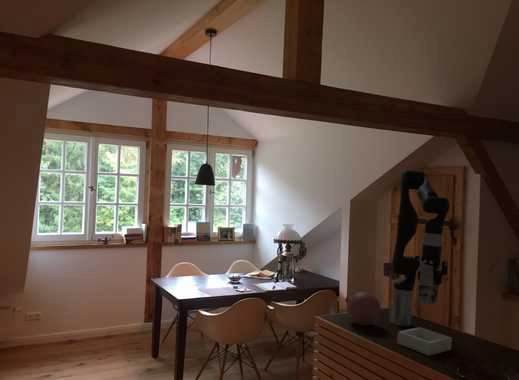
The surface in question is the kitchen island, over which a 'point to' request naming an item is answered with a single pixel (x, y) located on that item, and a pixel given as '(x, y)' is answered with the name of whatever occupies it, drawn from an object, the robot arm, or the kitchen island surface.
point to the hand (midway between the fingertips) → (429, 282)
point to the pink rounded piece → (363, 308)
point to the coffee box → (428, 284)
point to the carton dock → (424, 341)
